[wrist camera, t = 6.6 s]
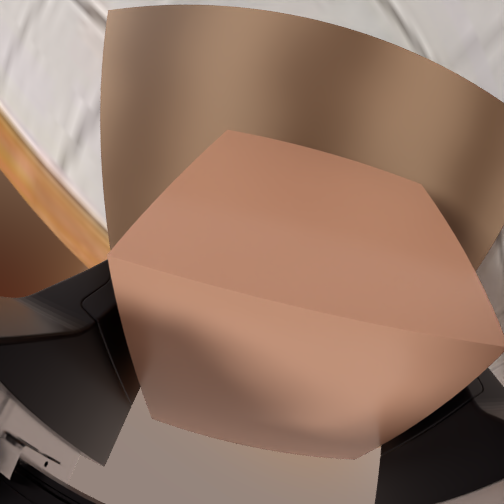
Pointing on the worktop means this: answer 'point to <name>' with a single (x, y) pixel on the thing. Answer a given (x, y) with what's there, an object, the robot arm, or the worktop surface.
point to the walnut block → (291, 108)
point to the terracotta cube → (298, 301)
